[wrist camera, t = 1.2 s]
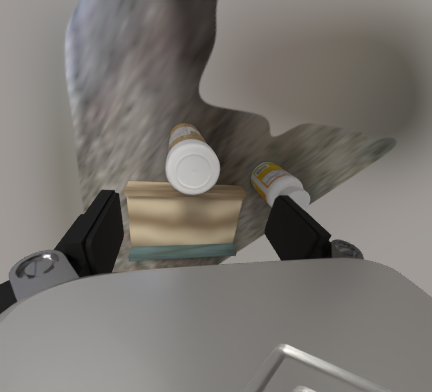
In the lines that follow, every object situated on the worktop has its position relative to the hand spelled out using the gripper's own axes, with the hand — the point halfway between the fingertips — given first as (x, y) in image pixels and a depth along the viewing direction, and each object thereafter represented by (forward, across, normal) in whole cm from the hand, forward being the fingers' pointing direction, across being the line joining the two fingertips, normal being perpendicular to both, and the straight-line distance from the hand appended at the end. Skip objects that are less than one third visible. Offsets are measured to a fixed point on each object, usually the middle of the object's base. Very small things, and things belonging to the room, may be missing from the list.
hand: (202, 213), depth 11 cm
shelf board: (+18, -1, +13) cm, 22 cm away
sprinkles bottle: (+19, 0, 0) cm, 19 cm away
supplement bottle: (+19, -14, +5) cm, 24 cm away
